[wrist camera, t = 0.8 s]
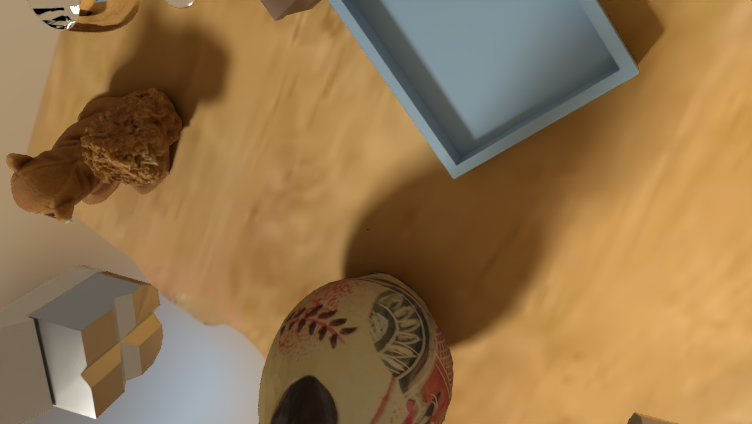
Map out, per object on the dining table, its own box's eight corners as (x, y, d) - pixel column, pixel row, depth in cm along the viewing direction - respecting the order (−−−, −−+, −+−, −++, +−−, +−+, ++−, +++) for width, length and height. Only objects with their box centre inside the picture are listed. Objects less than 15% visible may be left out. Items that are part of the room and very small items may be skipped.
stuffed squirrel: (81, 114, 54) (-51, 159, 43) (165, 49, 47) (33, 84, 36) (138, 198, 56) (27, 261, 45) (227, 148, 49) (120, 209, 38)
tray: (483, -191, 31) (475, -200, 29) (637, 65, 34) (640, 73, 32) (323, -32, 39) (307, -30, 37) (461, 167, 42) (453, 179, 40)
